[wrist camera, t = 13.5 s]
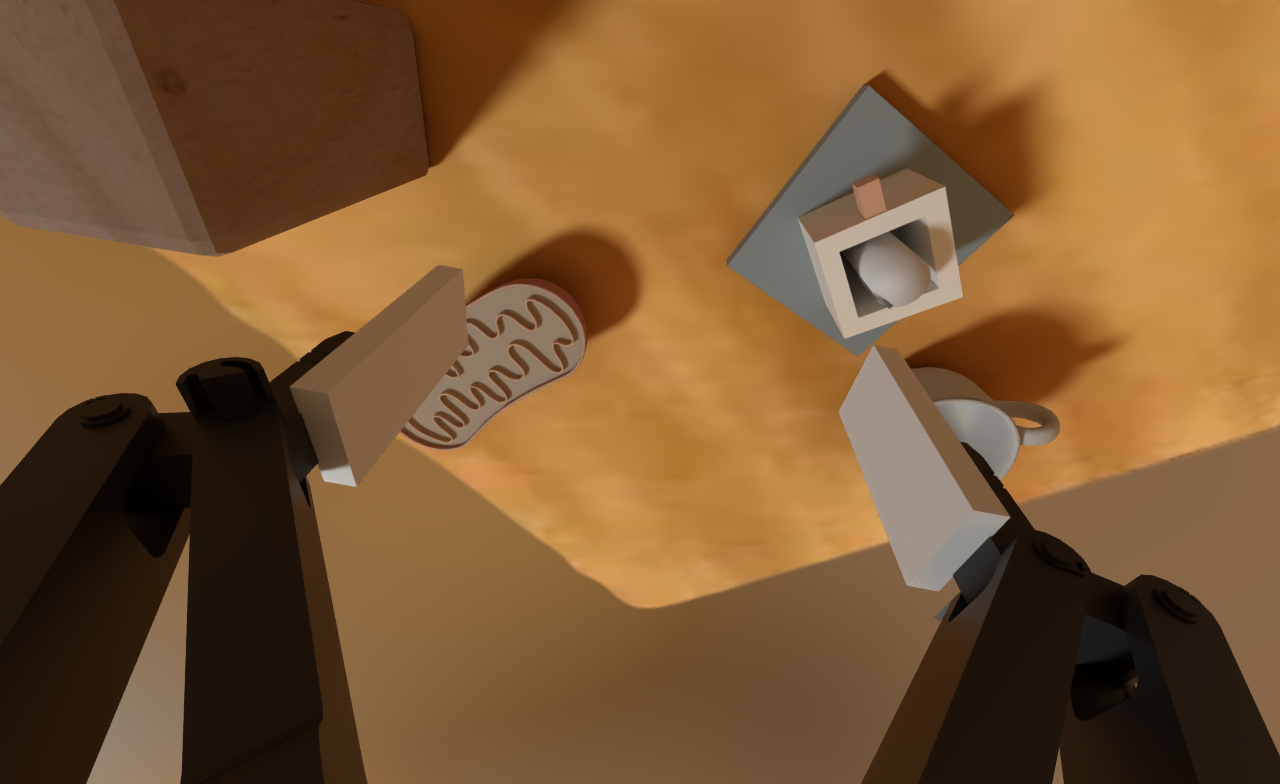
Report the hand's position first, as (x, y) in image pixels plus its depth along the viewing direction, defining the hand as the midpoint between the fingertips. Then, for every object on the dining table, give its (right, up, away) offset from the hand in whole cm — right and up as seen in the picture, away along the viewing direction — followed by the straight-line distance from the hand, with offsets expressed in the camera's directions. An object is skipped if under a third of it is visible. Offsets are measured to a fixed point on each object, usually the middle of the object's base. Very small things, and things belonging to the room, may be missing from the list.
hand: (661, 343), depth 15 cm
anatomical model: (-15, +3, +30) cm, 33 cm away
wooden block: (-21, +20, +18) cm, 34 cm away
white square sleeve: (+15, +10, +19) cm, 26 cm away
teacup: (+26, -2, +28) cm, 38 cm away
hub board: (+16, +10, +20) cm, 28 cm away
